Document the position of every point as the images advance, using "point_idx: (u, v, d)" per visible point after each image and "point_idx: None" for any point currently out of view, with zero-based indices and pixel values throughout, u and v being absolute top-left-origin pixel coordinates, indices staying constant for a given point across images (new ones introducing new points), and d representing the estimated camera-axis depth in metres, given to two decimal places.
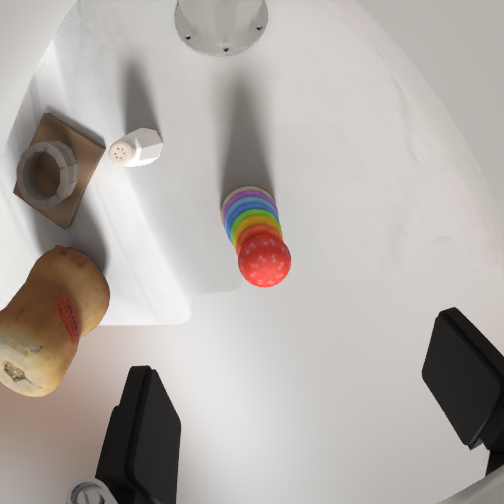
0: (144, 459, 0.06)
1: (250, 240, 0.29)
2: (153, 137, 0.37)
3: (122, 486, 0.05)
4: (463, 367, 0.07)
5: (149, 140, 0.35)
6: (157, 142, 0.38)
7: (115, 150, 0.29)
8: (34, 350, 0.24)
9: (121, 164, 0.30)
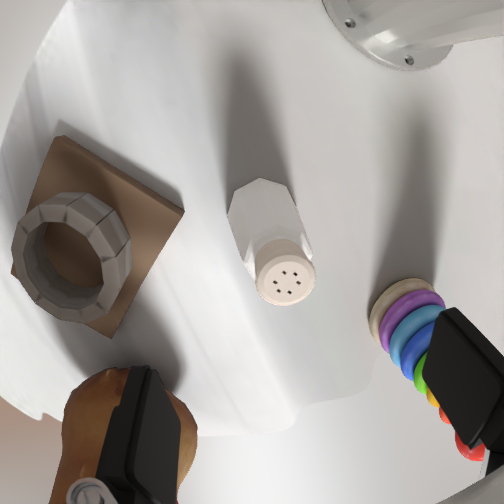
0: (144, 459, 0.06)
1: None
2: (294, 206, 0.21)
3: (122, 486, 0.05)
4: (463, 367, 0.07)
5: (299, 219, 0.19)
6: None
7: (276, 275, 0.14)
8: None
9: (287, 304, 0.15)
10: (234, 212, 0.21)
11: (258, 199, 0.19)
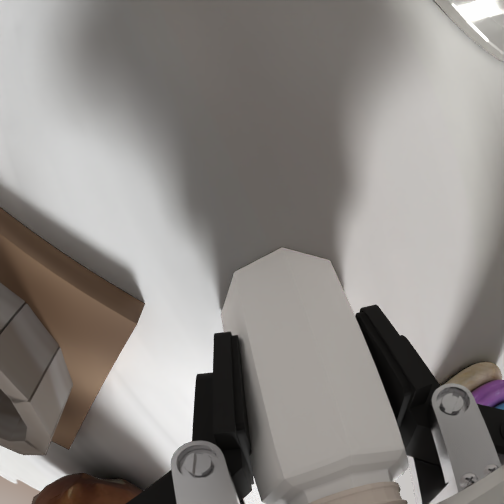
0: (245, 415, 0.07)
1: None
2: None
3: (228, 444, 0.06)
4: (376, 365, 0.08)
5: None
6: None
7: None
8: None
9: None
10: (235, 328, 0.10)
11: (289, 323, 0.09)
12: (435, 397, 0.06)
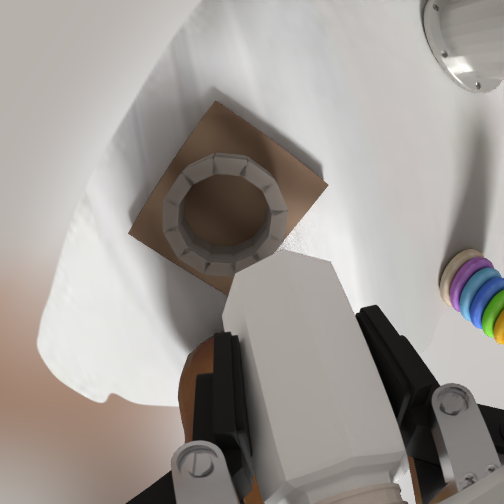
0: (245, 415, 0.07)
1: None
2: None
3: (228, 444, 0.06)
4: (376, 365, 0.08)
5: None
6: None
7: None
8: None
9: None
10: (236, 330, 0.10)
11: (290, 325, 0.09)
12: (435, 397, 0.06)
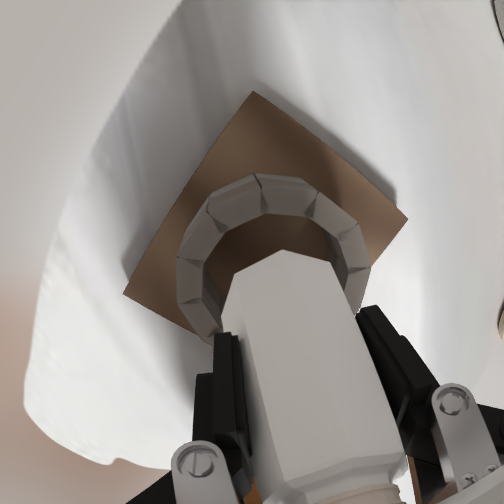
0: (245, 415, 0.07)
1: None
2: None
3: (228, 444, 0.06)
4: (376, 365, 0.08)
5: None
6: None
7: None
8: None
9: None
10: (235, 331, 0.10)
11: (289, 326, 0.09)
12: (435, 397, 0.06)
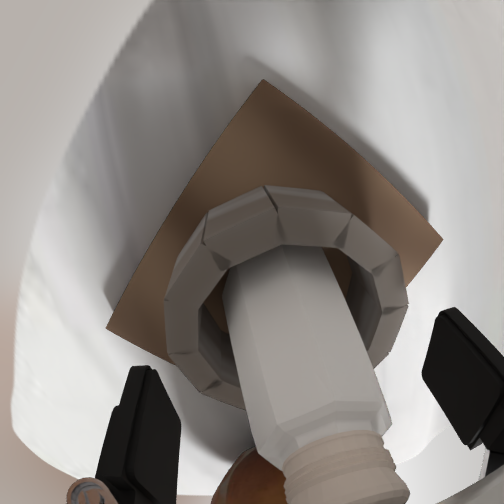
0: (144, 459, 0.06)
1: None
2: None
3: (122, 486, 0.05)
4: (463, 367, 0.07)
5: None
6: None
7: None
8: None
9: None
10: (234, 304, 0.12)
11: (282, 295, 0.10)
12: None
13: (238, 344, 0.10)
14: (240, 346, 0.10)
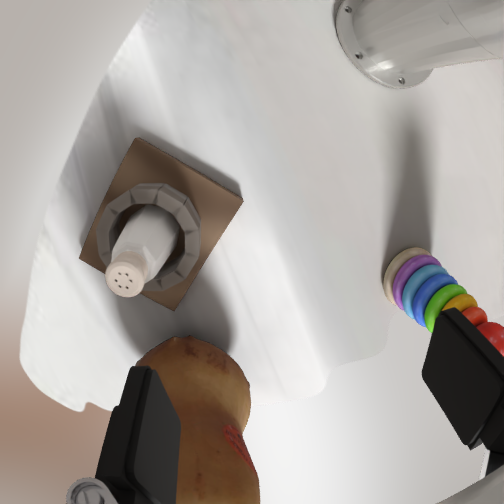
0: (144, 459, 0.06)
1: (486, 333, 0.20)
2: (167, 225, 0.27)
3: (122, 486, 0.05)
4: (463, 367, 0.07)
5: (163, 235, 0.25)
6: (173, 231, 0.27)
7: (115, 275, 0.19)
8: None
9: (128, 296, 0.20)
10: None
11: (133, 222, 0.25)
12: None
13: None
14: None
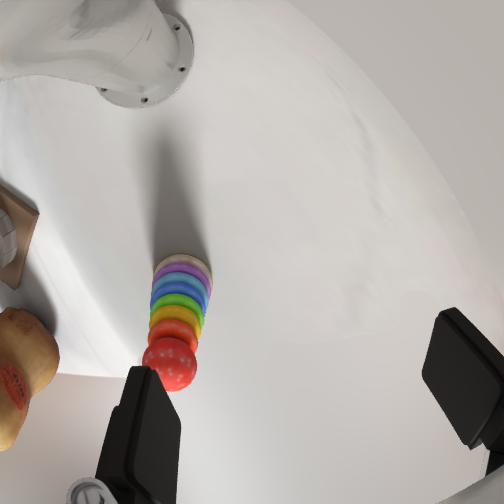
0: (144, 459, 0.06)
1: (151, 346, 0.25)
2: None
3: (122, 486, 0.05)
4: (463, 367, 0.07)
5: None
6: None
7: None
8: None
9: None
10: None
11: None
12: None
13: None
14: None
